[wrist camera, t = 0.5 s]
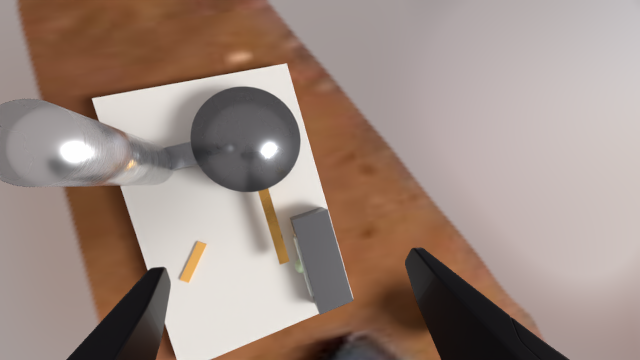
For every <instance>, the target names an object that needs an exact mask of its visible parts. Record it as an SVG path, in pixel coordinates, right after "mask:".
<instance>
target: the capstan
mask: <svg viewBox="0 0 640 360" xmlns="http://www.w3.org/2000/svg"><path fill="white" fill-rule="evenodd" d="M190 140H191V142H186V143H182V144H178V145H174V146H169V147H163V146H161V145H158V144H156V143H153V142H151V141H148V140H145V139H143V138H140V137H138V136H135V135H132V134H130V133H127V132H125V131H122V130H120V129H117V128H114V127H112V126H109V125H107V124H104V123H101V122H99V121H96V120H94V119H91V118H88V117H86V116H83V115H81V114H78V113H75V112H73V111H70V110H68V109H65V108H62V107H60V106H57V105H55V104H52V103H49V102H46V101H42V100H37V99H19V100H13V101H9V102H6V103H3V104H1V105H0V180H2V181H4V182H6V183H9V184H12V185H17V186H23V187H63V186H128V185H157V184H161V183H163V182H165V181H166V180H168V179H169V178H170V177H171V175H172V174H173V172H174V171H176V170H180V169H184V168H188V167H192V166H196V165H199V167H200V168H201V169H202V171H203V172H204V173H205V174H206V175H207V176H208V177H209V178H210V179H211V180H213V181H214V182H215V183H217V184H219V185H220V186H223V187H225V188H227V189H230V190H234V191H239V192H257V191H258V193H259V196H260V200H261V203H262V206H263V210H264V213H265V217H266V220H267V223H268V227H269V230H270V233H271V237H272V240H273V243H274V247H275V250H276V254H277V257H278V260H279V264H280V265H281V264H284V263H286V262H289V257H288V254H287V251H286V247H285V244H284V240H283V237H282V234H281V230H280V227H279V223H278V220H277V217H276V213H275V210H274V206H273V203H272V200H271V196H270V193H269V189H268V188H270V187H272V186H274V185H276V184H277V183H279V182H280V181H282V180H283V179H284V178H285V177H286V176H287V175H288V174H289V173H290V171H291V170H292V168H293V167H294V165H295V163H296V161H297V159H298V155H299V151H300V143H301V139H300V131H299V127H298V124H297V121H296V119H295V117H294V115H293V113H292V112H291V110H290V109H289V108H288V107H287V105H286V104H285V103H284V102H283V101H281V100H280V99H279V98H278V97H276V96H275V95H273V94H271V93H269V92H267V91H265V90H262V89H259V88H255V87H248V86H239V87H232V88H228V89H225V90H223V91H220V92H218V93H216V94H215V95H213V96H212V97H210V98H209V99H208V100H207V101H206V102H205V103H204V104H203V105H202V106H201V107H200V109H199V110H198V112H197V114H196V115H195V117H194V120H193V123H192V127H191V136H190Z"/></svg>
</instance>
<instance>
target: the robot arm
mask: <svg viewBox="0 0 640 360" xmlns="http://www.w3.org/2000/svg"><path fill="white" fill-rule="evenodd" d="M405 266H406V269H407V273H408V276H409V279H410V282H411V285H412V288H413V292H414V295H415V298H416V301H417V303H418V306H419V308H420V311H421V313H422V315H423V318H424V320H425V322H426V325H427V327H428V329H429V332H430V334H431V337H432V339H433V341H434V344H435V346H436V348H437V351H438V353H439V355H440V358H441V360H569V359H568V358H567V357H565V356H564V355H562V354H561V353H559V352H558V351H556V350H555V349H554V348H552V347H551V346H549V345H548V344H547V343H545V342H544V341H542V340H541V339H540V338H538V337H537V336H536V335H534V334H533V333H532V332H530V331H529V330H528V329H526V328H525V327H524V326H522V325H521V324H520V323H519V322H517V321H516V320H515V319H513V318H512V317H510V315H508V314H507V313H506V312H504V311H503V310H502V309H501V308H499V307H498V306H497V305H495V304H494V303H493V302H492V301H490V300H489V299H488V298H486V297H485V296H484V295H483V294H481V293H480V292H479V291H477V290H476V289H475V288H474V287H472V286H471V285H470V284H468V283H467V282H466V281H465V280H463V279H462V278H461V277H460V276H458V275H457V274H456V273H454V272H453V271H452V270H451V269H449V268H448V267H447V266H445V265H444V264H443V263H442V262H440V261H439V260H438V259H436V258H435V257H434V256H433V255H431V254H430V253H429V252H427V251H426V250H425V249H423V248H412V249H411V251H410V253H409V254H408V256H407V258H406V260H405ZM170 288H171V281H170V278H169V275H168V272H167V269H166V268H165V267H153V268H151V269H149V270H148V271H147V272H146V273H145V274H144V275H143V277H142V278H141V279H140V280H139V281H138V282H137V283H136V284H135V285H134V286H133V287H132V289H131V290H130V291H129V292H128V293H127V294H126V295H125V296H124V297H123V298H122V300H121V301H120V302H119V303H118V304H117V305H116V306H115V307H114V308H113V309H112V310H111V312H110V313H109V314H108V315H107V316H106V317H105V318H104V319H103V320H102V321H101V322H100V324H99V325H98V326H97V327H96V328H95V329H94V330H93V331H92V332H91V333H90V334H89V336H88V337H87V338H86V339H85V340H84V341H83V342H82V344H80V345H79V347H78V348H77V349H76V350H75V351H74V352H73V353H72V354H71V355H70V356H69V357H68V359H67V360H156V356H157V353H158V349H159V346H160V342H161V338H162V334H163V329H164V323H165V317H166V312H167V306H168V300H169V294H170Z"/></svg>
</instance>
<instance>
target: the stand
mask: <svg viewBox="0 0 640 360" xmlns="http://www.w3.org/2000/svg"><path fill="white" fill-rule="evenodd" d="M239 86H248V87H255V88H259V89H262V90H265V91H267V92H269V93H271V94H273V95H275V96H276V97H278V98H279V99H280V100H281V101H283V102H284V103H285V104H286V105H287V107H288V108H289V109H290V110H291V112H292V113H293V115H294V117H295V119H296V121H297V124H298V127H299V131H300V139H301V143H300V151H299V155H298V159H297V161H296V163H295V165H294V167H293V168H292V170H291V171H290V173H289V174H288V175H287V176H286V177H285V178H284V179H283V180H282V181H280V182H279V183H277V184H276V185H274V186H272V187H270V188H268V189H269V193H270V196H271V200H272V203H273V206H274V210H275V213H276V217H277V220H278V223H279V227H280V230H281V234H282V237H283V240H284V244H285V247H286V251H287V254H288V257H289V262H286V263H284V264H281V265H280V264H279V260H278V257H277V254H276V250H275V247H274V243H273V240H272V237H271V233H270V230H269V227H268V223H267V220H266V217H265V213H264V210H263V206H262V203H261V200H260V196H259V193H258V191H257V192H239V191H234V190H230V189H227V188H225V187H223V186H220V185H219V184H217V183H215V182H214V181H213V180H211V179H210V178H209V177H208V176H207V175H206V174H205V173H204V172H203V171H202V169H201V168H200V167H199V165H196V166H192V167H188V168H184V169H180V170H176V171H174V172H173V174H172V175H171V177H170V178H169V179H168V180H166V181H165V182H163V183H161V184H157V185H128V186H120V187H121V190H122V193H123V196H124V199H125V202H126V205H127V208H128V211H129V214H130V217H131V220H132V223H133V227H134V230H135V233H136V236H137V239H138V242H139V245H140V248H141V251H142V254H143V257H144V260H145V263H146V266H147V270H149V269H151V268H153V267H165V268H166V269H167V272H168V275H169V278H170V281H171V288H170V294H169V300H168V306H167V312H166V317H165V325H166V328H167V331H168V334H169V337H170V340H171V343H172V346H173V349H174V352H175V355H176V358H177V360H210V359H213V358H215V357H217V356H220V355H222V354H224V353H227V352H229V351H232V350H234V349H236V348H239V347H241V346H243V345H246V344H248V343H250V342H253V341H255V340H258V339H260V338H262V337H265V336H267V335H269V334H272V333H274V332H276V331H279V330H281V329H283V328H286V327H288V326H291V325H293V324H295V323H298V322H300V321H302V320H305V319H307V318H309V317H312V316H314V315H317V314H320V315H321V314H323V313H325V312H328V311H330V310H332V309H335V308H337V307H339V306H342V305H344V304H347V303H349V302H351V301H353V296H352V292H351V289H350V285H349V282H348V278H347V275H346V271H345V268H344V264H343V261H342V257H341V254H340V250H339V247H338V243H337V239H336V236H335V232H334V229H333V225H332V222H331V218H330V215H329V211H328V208H327V204H326V201H325V197H324V194H323V190H322V187H321V183H320V180H319V176H318V172H317V169H316V165H315V162H314V158H313V155H312V151H311V148H310V144H309V141H308V137H307V134H306V130H305V127H304V123H303V120H302V116H301V112H300V109H299V105H298V102H297V98H296V95H295V91H294V88H293V84H292V81H291V77H290V74H289V70H288V67H287V64H281V65H276V66H270V67H265V68H259V69H253V70H248V71H242V72H237V73H231V74H226V75H220V76H214V77H209V78H203V79H198V80H192V81H187V82H181V83H175V84H170V85H164V86H159V87H153V88H148V89H142V90H136V91H131V92H125V93H120V94H114V95H109V96H103V97H97V98H92V101H93V104H94V107H95V110H96V113H97V116H98V119H99V122H101V123H104V124H107V125H109V126H112V127H114V128H117V129H120V130H122V131H125V132H127V133H130V134H132V135H135V136H138V137H140V138H143V139H145V140H148V141H151V142H153V143H156V144H158V145H161V146H163V147H169V146H174V145H178V144H182V143H186V142H191V140H190V136H191V127H192V123H193V120H194V117H195V115H196V114H197V112H198V110H199V109H200V107H201V106H202V105H203V104H204V103H205V102H206V101H207V100H208V99H209V98H210V97H212V96H213V95H215V94H216V93H218V92H220V91H223V90H225V89H228V88H232V87H239Z"/></svg>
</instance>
